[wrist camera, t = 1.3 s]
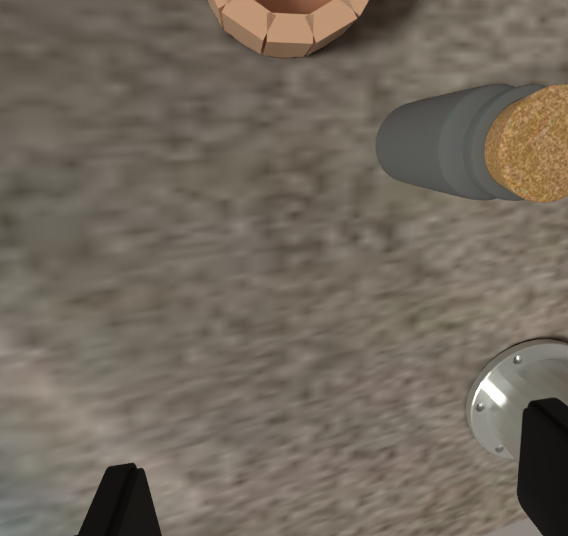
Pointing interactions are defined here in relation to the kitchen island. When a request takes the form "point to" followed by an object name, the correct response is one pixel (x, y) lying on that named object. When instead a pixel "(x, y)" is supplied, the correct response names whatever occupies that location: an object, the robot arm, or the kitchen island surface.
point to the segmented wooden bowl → (286, 23)
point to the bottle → (482, 143)
